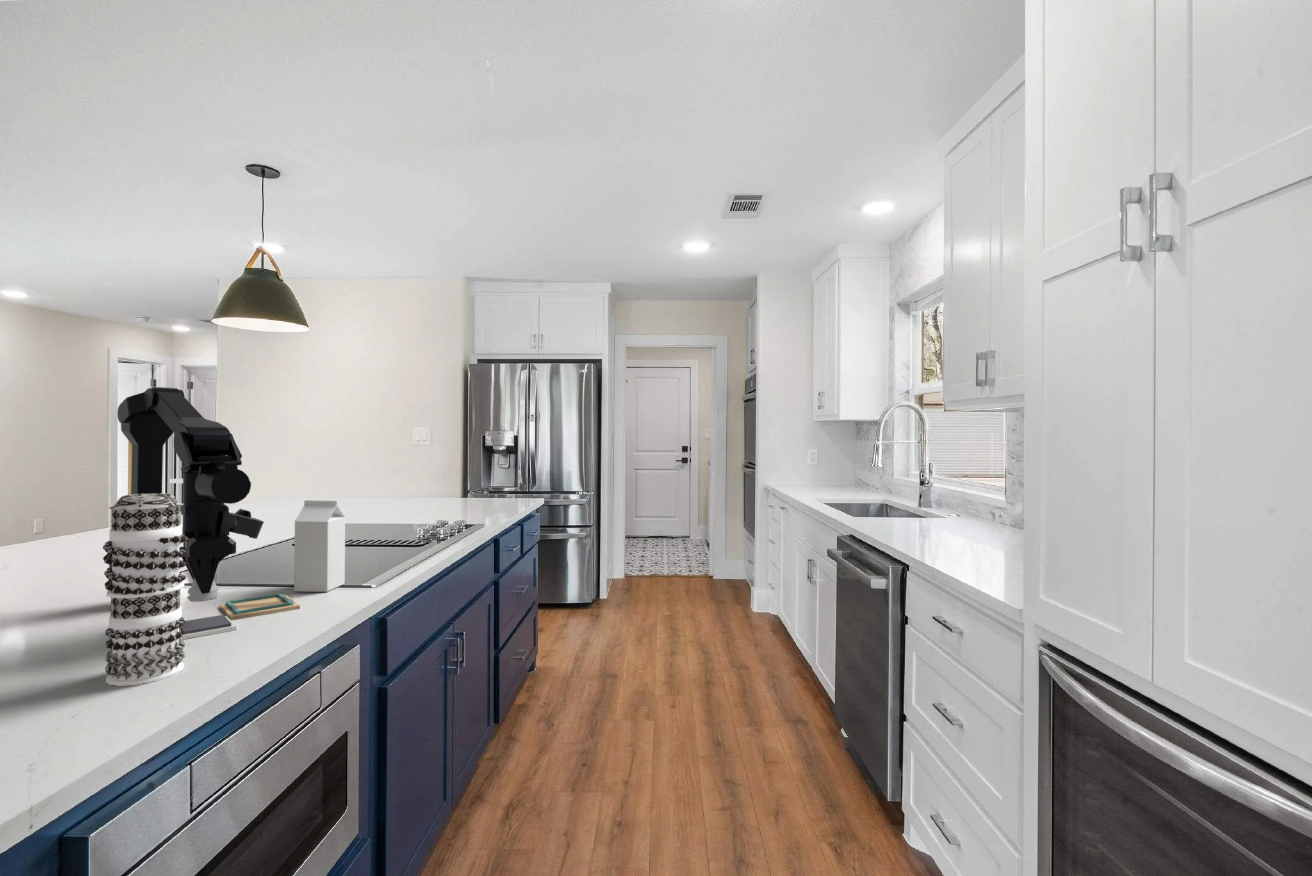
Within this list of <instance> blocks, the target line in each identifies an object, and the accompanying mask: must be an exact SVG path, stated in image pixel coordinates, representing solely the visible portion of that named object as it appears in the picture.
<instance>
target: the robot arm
mask: <svg viewBox="0 0 1312 876" xmlns="http://www.w3.org/2000/svg"><path fill="white" fill-rule="evenodd" d="M117 420H118V422H119V423H120V431H121V433H122V434H123V435H124V437H125V438H126V439H127V440H128V441H129V443H130V445H131V470H130V471H131V473H130V474H131V477H130V478H131V480H130V495H132V494H146V493H163V471H164V469H163V466H164V462H163V460H164V445H165V444H166V442H167V441H168V440H169V439H170V438H171V436H172V435H173V434H174V437H173V449H174V451H175V454H176V455H177V457H178V458H179V460H180V462H181V463H182V466H181V468H180V470H181V472H183V473H182V503H183V504H184V505H181V513H182V531H183V532H184V533H183V532H182V535H184V536H187V537H188V538H189V540H188V541H186V542H184V543H183V542H182V544H183V545H182V546H179V549H183V550H186V551H187V554H186V555H185V556H183V557H181V560H183V561H185V562H187V565H186V566H185V567H186V569H187V571H188V574H189V575H190V577H191V579H192V580H193V581H194V578H195V580H196V583H197V585H198V587H199V589H200V591H201V593H202V594H206V593H209V592H210V590H211V586H212V583H213V580H214V581H215V576H216V573H217V570H218V567H219V564H220V562H221V561H223V559H225V558H227V557H228V556H230V555H234V554H237V541H235V540H234V539H233V538H231V537H230V533H233V534H237V535H242V536H247V537H248V538H250V539H255V540H256V539H258V537H259V535H260V532H261V529H262V528H263V525H264V522H265V521H263V520H261V519H258V518H255V517H252V513H251V510H246V509H242V508H239V509H238V510H237V511H235V512H230V508H229V506H228V505H231V504H232V505H233V504H236V503H239V502H242V501H243V500H244V499H245V498H247V496H248V495H249V493H250V492H251V487H252V482H251V481H250V477H249V476H248V475H247V473H246V472H245V471H243V470H241V469H239V468H238V466H242V463H243V461H242V458H243V455H242V453H241V451H240V449H239V447H238V444H237V442H236V441H235V438H234V436H233V434H232V433H231V432H230V429H228V427H226V426H225V425H223V424H221V423H220V422H217V421H214V420H210V419H206V418H205V417H204V416H203V415H201V413H200V412H199V411H198V410H197V409H196V408H195V407H194V406H193V405H192V403H191V402H189V400H188V399H187V398H186V397H185V392H184V390H182V389H179V388H177V387H162V386H161V387H160V386H159V387H158V386H152V387H148V388H147V389H146V390H145V391H143V392H141V393H137V394H134V395H131V396H127V397H125V399H124V400H122V402H120V404H119V405H118V407H117ZM227 504H228V505H227ZM179 545H181V543H180V542H179ZM109 567H111V565H109V564H108V568H109ZM193 581H192V582H193Z"/></svg>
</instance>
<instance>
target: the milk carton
mask: <svg viewBox="0 0 1312 876" xmlns="http://www.w3.org/2000/svg"><path fill="white" fill-rule="evenodd" d="M293 559H294V562H293V563H294V567H293V568H294V569H293V570H294V572H293V573H294V574H293V575H294V576H293V577H294V578H293V579H294V580H293V581H294V583H293V584H294V586H293V587H294V589H293V590H294V592H307V593H308V592H311V593H312V592H315V593H318V592H319V593H328V592H329V591H332V590H334V589H336V588H339V587H341V586H342V585H344V584H345V582H346V581H345V580H346V579H345V578H346V572H345V571H346V568H345V567H346V516H345V515H344V513H343V511H342V510H341V509H340V508H339V506H338V501H337V500H304V505H303V507H302V508H301V510H300V512H299V513H298V515H297V517H296V518H295V520H294V558H293Z"/></svg>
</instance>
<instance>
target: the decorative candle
mask: <svg viewBox="0 0 1312 876" xmlns="http://www.w3.org/2000/svg"><path fill="white" fill-rule="evenodd" d="M181 505H184V504H183V502H182V503H181V502H179V501H178V499H177V498H176V497H175V496H174V495H173V494H172V493H163V492H162V493H146V494H132V495H131V494H126V495H122V496H121V497H119V498H118V500H117V501H116V503H114V505H112V506H109V507H108V509H110V511H111V519H110V523H111V526H110V529H109V534H108V535H109V540H108V541H106V542H104V544H103V546H102V549H103V550H104V551H105V552H106V554H105V555H104V556H103V557H102V560H103V562H104V564H106V565H108V567H107V568H106V570H105V571H104V574H103V575H104V576H105V578H106V580H107V581H106V582H105V583H104V587H105V590H107V591H106V595H105V596H106V597H108V598H110V614H109V617H108V628H107V629H106V630H105V636H106V637H109V639H108V640H106V641H105V647H106V648H107V649H110V650H109V651H107V653H105V657H104V659H105V662H106V663H107V664H106V665H105V668H104V669H105V671H104V672H105V674H107V676H106V680H105V684H107V683H108V684H107V685H110V686H112V685H115V686H114V687H129V686H130V685H131V686H139V684H140V685H144V684H143V683H145V684H149V683H150V684H151V683H155V682H158V681H161V680H164V679H165V680H166V679H168V678H170V677H172V676H175V675H177V674H179V673H181V672H182V671H183V670H184V669H185V666H184V665H185V664H184V662H183V659H184V658H185V657H186V655H185V654H184V653H185V652H184V651H183V650H184V648H185V646H186V643H185V642H184V639H183V640H182V639H180V638H181V637H182V635H184V633H185V631H184V630H183V629H182V628H180V627H181V626H182V625H183V624H184V623H185V621H186V620H185V618H184V617H182V615H183V612H182V610H183V606H182V605H181V589H183V588H184V587H185V582H184V581H185V580H186V579H187V576H186V575H184V574H182V573H181V572H180V570H181V569H183V568H184V567H186V565H187V562H185V561H183V559H182V557H183V556H185V555H186V554H187V551H186V550H183V549H179V547H180V545H182V544H183V543H184V542H186V541H188V540H189V538H188V537H187V536H184V535H182V532H183V531H182V527H183V523H182V522H181V521H182V519H181V518H182V514H181V513H182V511H181ZM183 533H184V532H183ZM179 542H180V544H179ZM109 565H111V567H109ZM154 681H155V682H154Z"/></svg>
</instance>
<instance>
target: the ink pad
mask: <svg viewBox="0 0 1312 876" xmlns="http://www.w3.org/2000/svg"><path fill="white" fill-rule="evenodd" d="M180 628H182V629H183V630H184V631H185V633H184V635H182V637H181V638H180V639H182V640H183V641H184V640H188V639H192V638H193V637H194V638H199V637H203V636H204V635H205V636H209V635H215V633H216V634H221V633H226V632H232V631H237V625H236V624H235V623H234V622H233V620H231V619H230V618H229V617H228V616H227V615H226V616H225V614H220V615H212V616H207V617H201V618H195V619H188V620H185V623H184V624H183V625H182V626H181V627H180Z"/></svg>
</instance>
